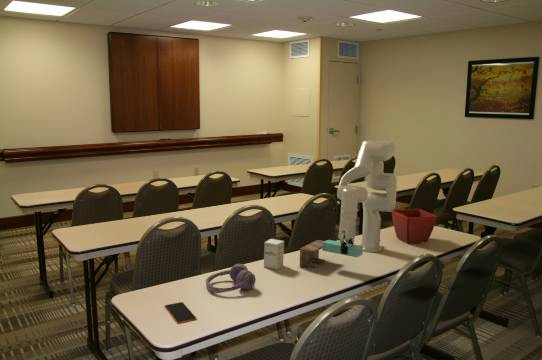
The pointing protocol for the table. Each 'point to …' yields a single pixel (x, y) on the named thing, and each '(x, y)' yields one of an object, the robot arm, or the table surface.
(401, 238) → the plant pot
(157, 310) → the table surface
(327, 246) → the teal flat plank
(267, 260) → the supplement box
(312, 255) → the overhang shelf
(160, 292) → the table surface
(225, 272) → the headphones
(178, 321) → the smartphone
